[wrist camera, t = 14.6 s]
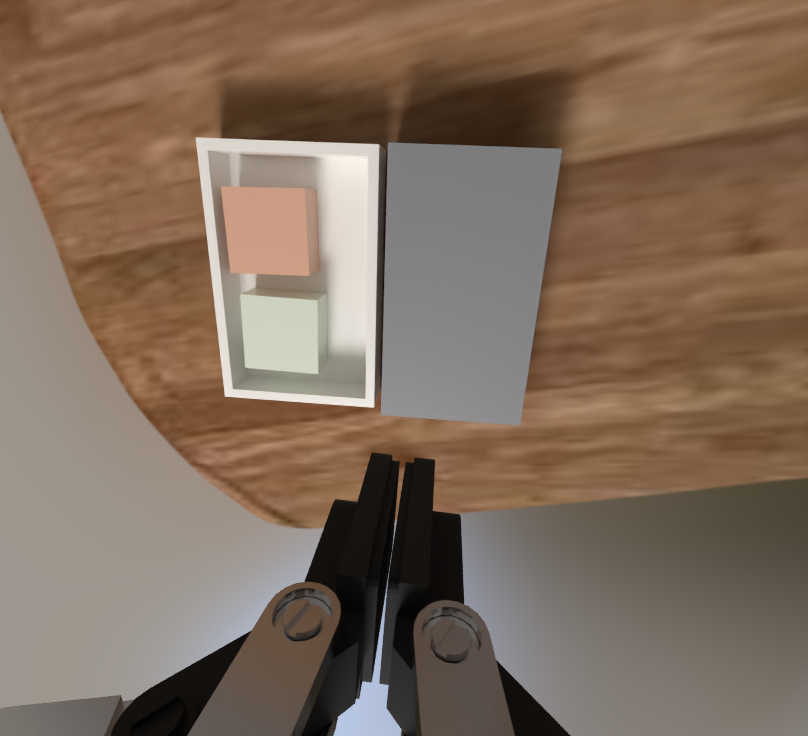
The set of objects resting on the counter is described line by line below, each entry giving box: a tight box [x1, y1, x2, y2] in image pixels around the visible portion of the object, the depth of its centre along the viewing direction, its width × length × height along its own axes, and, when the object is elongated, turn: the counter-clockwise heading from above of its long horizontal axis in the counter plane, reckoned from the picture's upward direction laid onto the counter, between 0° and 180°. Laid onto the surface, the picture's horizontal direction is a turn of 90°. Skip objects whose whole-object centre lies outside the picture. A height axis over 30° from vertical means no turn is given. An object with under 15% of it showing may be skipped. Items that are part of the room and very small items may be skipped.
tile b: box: [240, 287, 327, 374], centre depth 30 cm, size 5×5×2 cm
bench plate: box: [381, 143, 562, 425], centre depth 28 cm, size 16×9×4 cm, turn 178°
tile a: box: [221, 186, 320, 276], centre depth 28 cm, size 5×5×2 cm
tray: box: [196, 138, 386, 408], centre depth 29 cm, size 16×10×3 cm, turn 178°
